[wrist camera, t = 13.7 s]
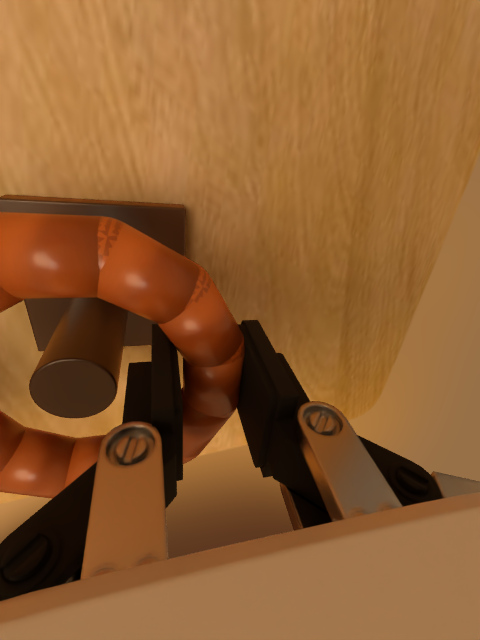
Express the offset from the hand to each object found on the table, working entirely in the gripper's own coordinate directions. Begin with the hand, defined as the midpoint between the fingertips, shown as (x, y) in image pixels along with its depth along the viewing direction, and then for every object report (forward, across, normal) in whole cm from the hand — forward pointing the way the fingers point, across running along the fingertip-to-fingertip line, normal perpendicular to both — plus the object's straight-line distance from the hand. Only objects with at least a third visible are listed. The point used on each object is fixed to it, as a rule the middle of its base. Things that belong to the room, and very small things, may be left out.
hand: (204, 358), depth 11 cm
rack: (+8, +4, 0) cm, 9 cm away
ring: (-1, +4, 0) cm, 4 cm away
